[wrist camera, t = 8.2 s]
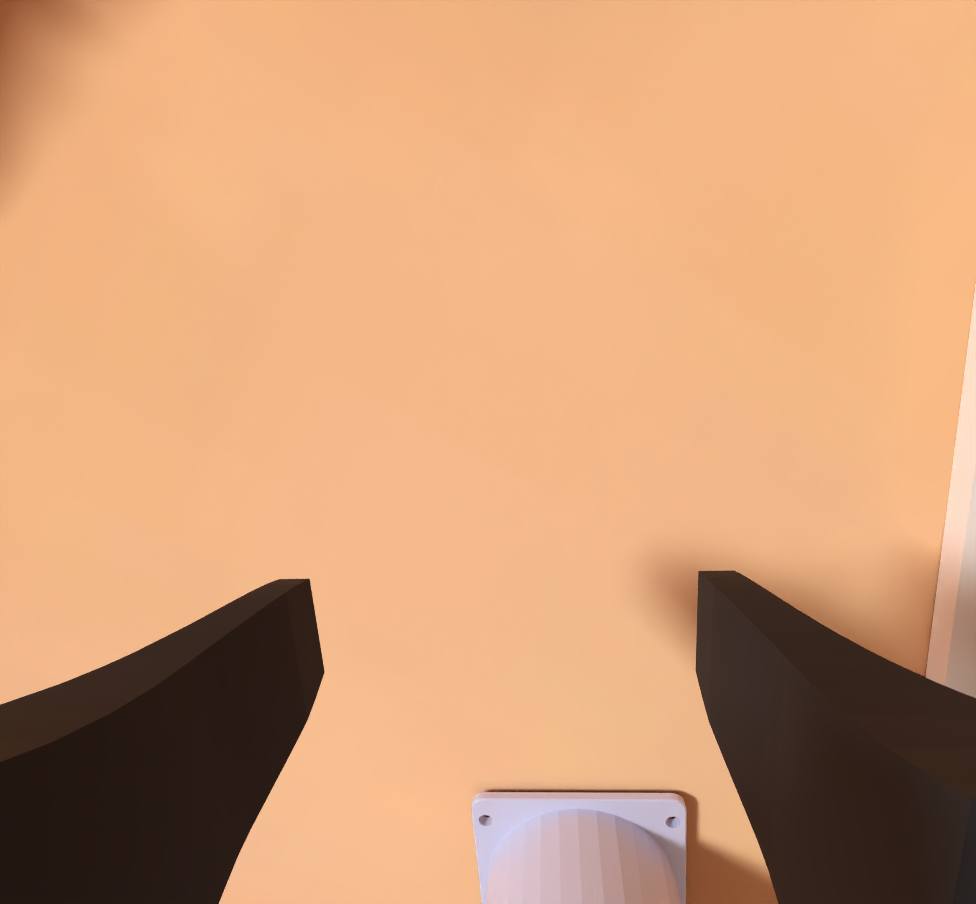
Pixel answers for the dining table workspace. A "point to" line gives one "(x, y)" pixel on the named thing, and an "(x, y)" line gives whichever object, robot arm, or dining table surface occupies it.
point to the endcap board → (959, 552)
